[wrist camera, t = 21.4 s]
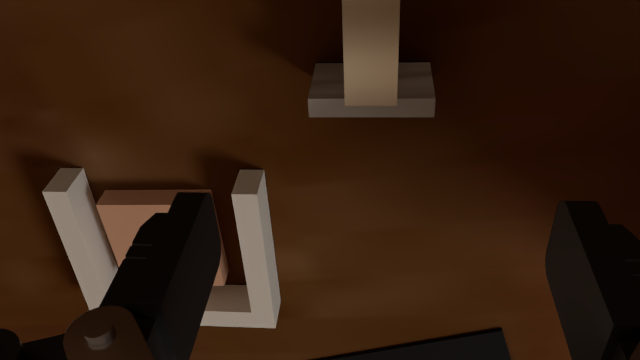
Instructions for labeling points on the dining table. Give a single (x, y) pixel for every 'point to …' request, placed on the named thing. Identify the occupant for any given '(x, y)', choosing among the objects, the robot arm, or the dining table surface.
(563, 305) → the robot arm
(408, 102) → the beige rectangular block
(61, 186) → the bay
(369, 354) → the sushi
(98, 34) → the dining table surface
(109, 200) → the tile
